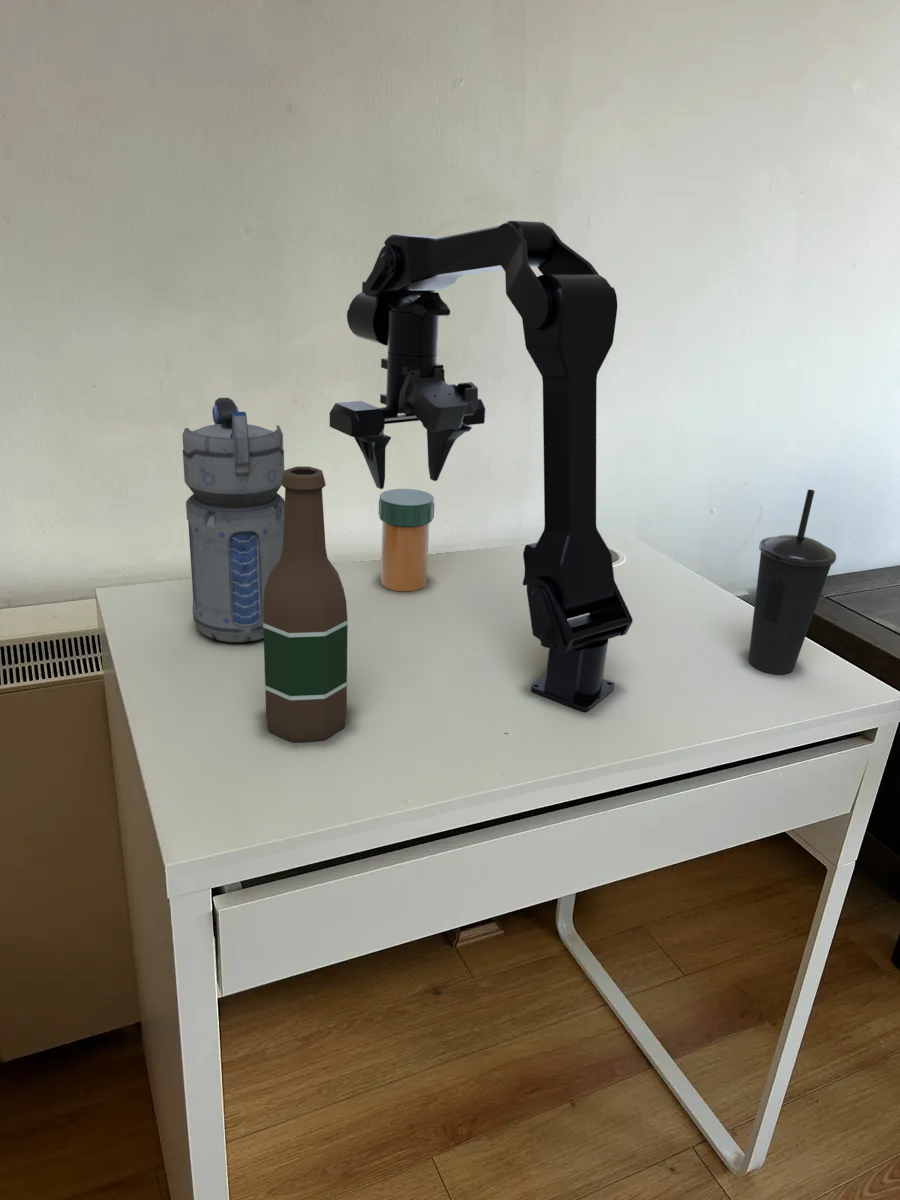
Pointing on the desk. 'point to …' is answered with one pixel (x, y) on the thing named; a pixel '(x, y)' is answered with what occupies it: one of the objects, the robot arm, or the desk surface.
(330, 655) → the beer bottle
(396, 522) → the lid
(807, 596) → the drinking cup
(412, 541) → the jar
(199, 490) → the beverage bottle
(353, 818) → the desk surface
